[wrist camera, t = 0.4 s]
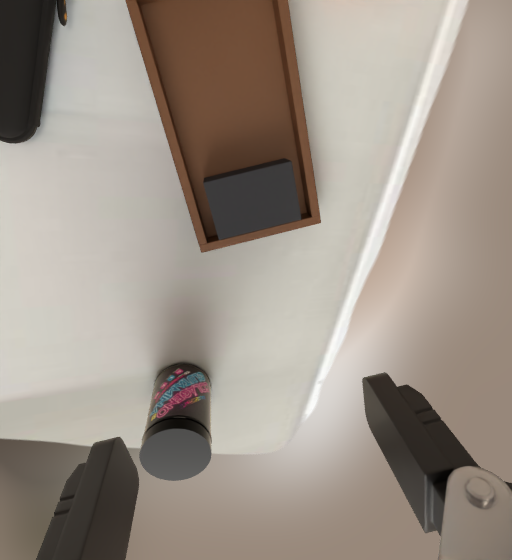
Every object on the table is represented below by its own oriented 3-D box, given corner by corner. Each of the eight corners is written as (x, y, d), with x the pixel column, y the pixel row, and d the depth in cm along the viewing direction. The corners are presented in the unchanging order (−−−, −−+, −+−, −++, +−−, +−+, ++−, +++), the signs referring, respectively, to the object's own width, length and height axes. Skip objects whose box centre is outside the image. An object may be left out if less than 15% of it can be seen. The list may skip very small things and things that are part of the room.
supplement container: (222, 378, 44) (226, 448, 35) (189, 414, 46) (183, 490, 36) (176, 351, 42) (167, 417, 33) (143, 389, 44) (124, 463, 34)
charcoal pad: (203, 177, 34) (202, 182, 32) (285, 157, 35) (291, 160, 32) (218, 231, 37) (218, 240, 34) (294, 212, 37) (301, 219, 34)
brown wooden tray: (128, -3, 29) (121, -14, 27) (274, -37, 29) (280, -51, 27) (201, 244, 38) (201, 252, 35) (314, 216, 38) (321, 222, 35)
